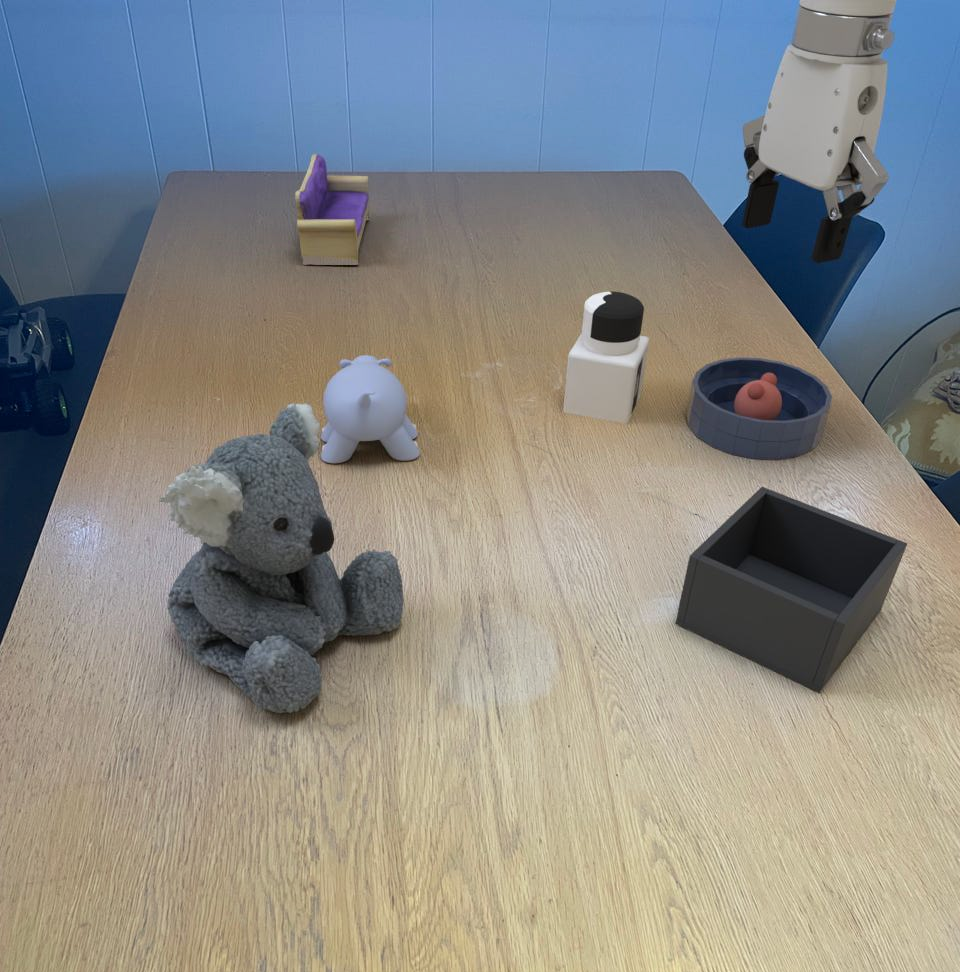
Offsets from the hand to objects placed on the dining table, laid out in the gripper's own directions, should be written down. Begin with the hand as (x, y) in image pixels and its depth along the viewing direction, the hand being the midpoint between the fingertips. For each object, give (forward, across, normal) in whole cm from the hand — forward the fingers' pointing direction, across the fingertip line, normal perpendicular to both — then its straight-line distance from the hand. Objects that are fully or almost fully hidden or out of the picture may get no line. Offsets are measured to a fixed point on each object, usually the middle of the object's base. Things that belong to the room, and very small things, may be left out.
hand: (789, 242), depth 92 cm
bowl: (+23, +3, -4) cm, 23 cm away
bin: (+23, -24, +16) cm, 36 cm away
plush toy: (+22, +3, -4) cm, 23 cm away
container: (+23, +15, +8) cm, 29 cm away
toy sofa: (+23, +77, +16) cm, 82 cm away
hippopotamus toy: (+23, +21, +36) cm, 47 cm away
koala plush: (+23, -5, +56) cm, 61 cm away
